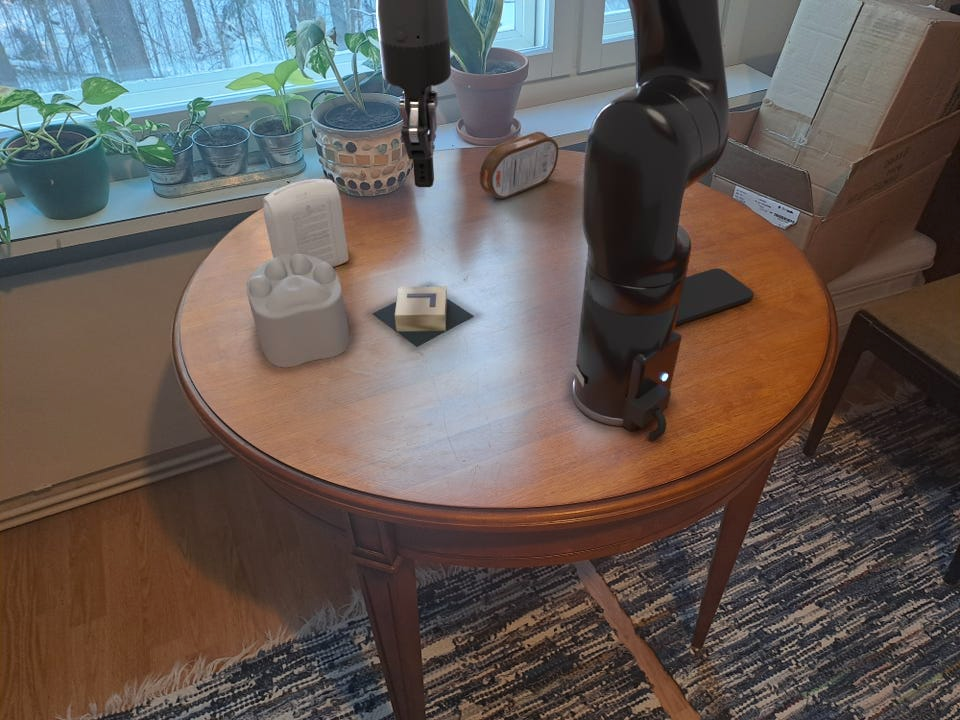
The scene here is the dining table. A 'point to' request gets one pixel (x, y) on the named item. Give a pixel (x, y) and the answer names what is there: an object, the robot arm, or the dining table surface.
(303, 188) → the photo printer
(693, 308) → the phone
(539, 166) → the tin
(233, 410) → the dining table surface
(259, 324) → the lumpy-topped squat cylinder
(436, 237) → the dining table surface
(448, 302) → the mat
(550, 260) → the dining table surface
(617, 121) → the robot arm
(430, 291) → the tile
